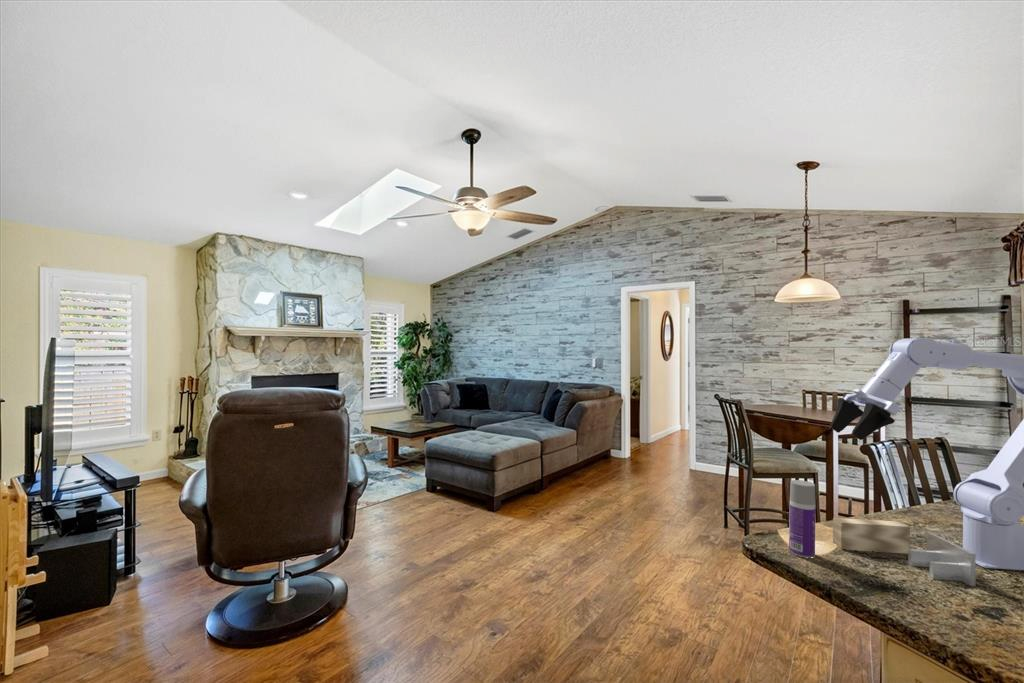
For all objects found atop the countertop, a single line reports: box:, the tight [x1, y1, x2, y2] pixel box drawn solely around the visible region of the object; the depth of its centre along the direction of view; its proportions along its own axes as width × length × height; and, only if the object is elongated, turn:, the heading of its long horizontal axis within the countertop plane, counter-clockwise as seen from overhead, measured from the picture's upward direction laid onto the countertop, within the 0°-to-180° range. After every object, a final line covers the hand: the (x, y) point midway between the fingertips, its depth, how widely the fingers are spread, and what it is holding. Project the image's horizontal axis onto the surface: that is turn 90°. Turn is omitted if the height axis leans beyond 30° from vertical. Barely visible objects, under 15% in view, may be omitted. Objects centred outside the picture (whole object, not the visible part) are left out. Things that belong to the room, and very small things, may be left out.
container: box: [788, 479, 817, 559], centre depth 97 cm, size 5×5×15 cm
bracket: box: [907, 532, 977, 587], centre depth 90 cm, size 6×10×6 cm, turn 175°
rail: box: [832, 517, 911, 555], centre depth 100 cm, size 14×3×6 cm, turn 85°
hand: (844, 433), depth 99 cm, fingers open, 7 cm apart
